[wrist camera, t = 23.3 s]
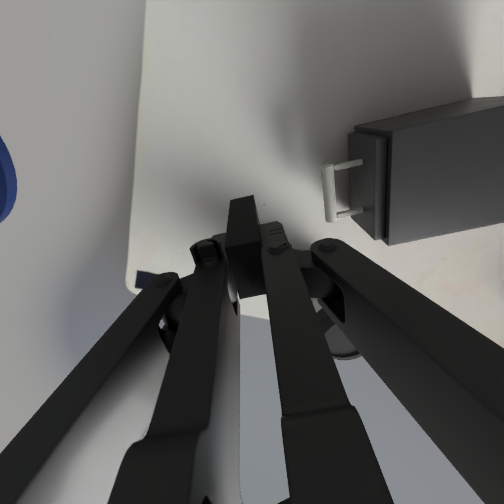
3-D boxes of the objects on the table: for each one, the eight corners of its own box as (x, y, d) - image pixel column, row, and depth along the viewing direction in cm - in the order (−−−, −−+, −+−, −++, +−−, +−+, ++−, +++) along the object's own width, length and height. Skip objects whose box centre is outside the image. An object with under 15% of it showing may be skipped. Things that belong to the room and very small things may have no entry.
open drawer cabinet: (318, 224, 39) (335, 248, 32) (310, 142, 33) (328, 150, 26) (445, 197, 37) (491, 216, 30) (458, 107, 32) (517, 106, 25)
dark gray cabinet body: (356, 217, 39) (388, 246, 31) (354, 125, 33) (392, 131, 25) (457, 195, 38) (518, 219, 30) (473, 97, 32) (555, 93, 24)
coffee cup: (338, 241, 41) (384, 303, 28) (349, 285, 45) (393, 357, 32) (283, 260, 42) (303, 328, 29) (299, 301, 46) (322, 376, 33)
